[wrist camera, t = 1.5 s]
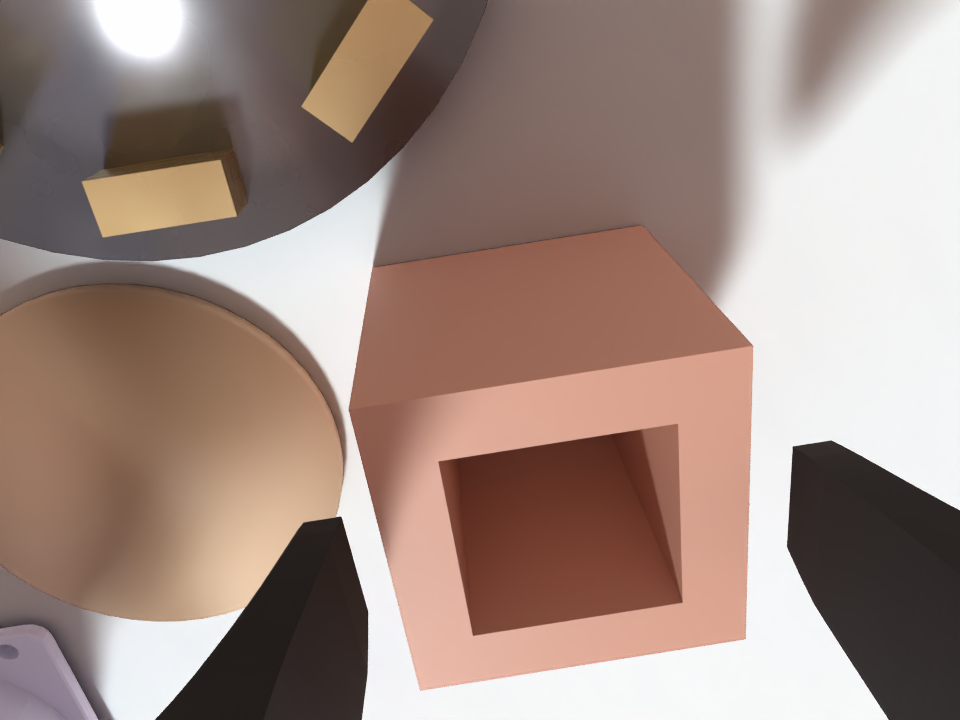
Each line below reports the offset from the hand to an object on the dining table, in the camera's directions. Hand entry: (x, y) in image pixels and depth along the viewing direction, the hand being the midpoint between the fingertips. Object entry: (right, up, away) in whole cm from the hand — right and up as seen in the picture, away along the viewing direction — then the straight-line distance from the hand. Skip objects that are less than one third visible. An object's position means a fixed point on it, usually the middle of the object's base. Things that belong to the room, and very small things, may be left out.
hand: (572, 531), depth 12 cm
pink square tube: (0, +3, +5) cm, 6 cm away
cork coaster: (-9, 0, +6) cm, 11 cm away
